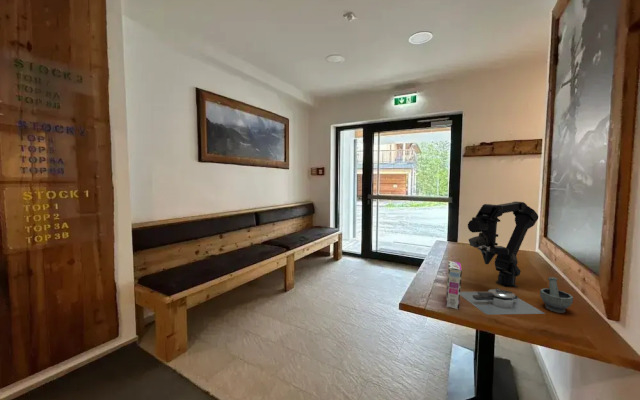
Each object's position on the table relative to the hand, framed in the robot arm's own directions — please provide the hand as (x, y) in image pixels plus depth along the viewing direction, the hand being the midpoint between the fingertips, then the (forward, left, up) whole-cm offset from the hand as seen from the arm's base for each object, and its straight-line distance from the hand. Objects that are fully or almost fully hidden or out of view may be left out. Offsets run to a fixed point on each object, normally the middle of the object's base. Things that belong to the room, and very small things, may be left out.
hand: (486, 264), depth 125 cm
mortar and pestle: (-15, +20, -12) cm, 28 cm away
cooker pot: (+6, +15, -12) cm, 20 cm away
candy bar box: (+24, +14, -12) cm, 30 cm away
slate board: (+4, +14, -12) cm, 19 cm away
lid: (+7, +15, -8) cm, 18 cm away
